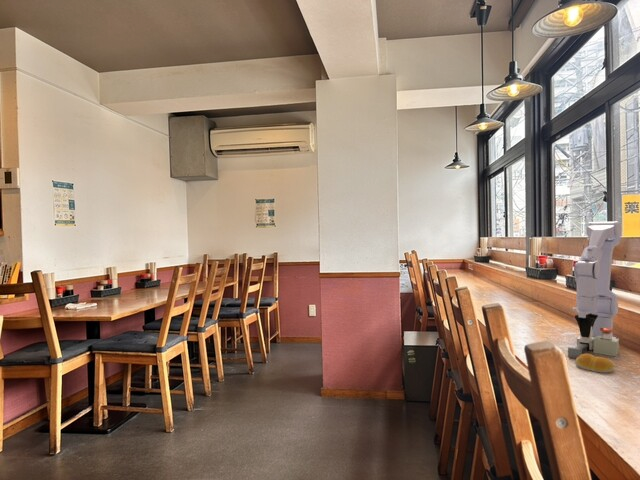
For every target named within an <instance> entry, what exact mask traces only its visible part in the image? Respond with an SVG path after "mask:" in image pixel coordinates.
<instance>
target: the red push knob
mask: <svg viewBox="0 0 640 480" xmlns="http://www.w3.org/2000/svg"><path fill="white" fill-rule="evenodd" d="M600 331H602V339H604V340H611V332H614V330H613V329H610V328H600Z"/></svg>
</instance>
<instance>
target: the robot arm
mask: <svg viewBox="0 0 640 480" xmlns="http://www.w3.org/2000/svg"><path fill="white" fill-rule="evenodd" d="M621 234H622V226H621V223H620V222H619V221H618V220H616V221H589V222H588V223H587V225H586V235H587V238H588V240H589V242H588V246H586V247H585V248H583V251H582V253H581V256H580V258H579V260H578V261H577V262H575V263H574V266H573V274H574V281H575V283H576V307H572V311H576V313H578V314H575V315H574V318H575V321H576V323H577V324H578V328H579V334H580V333H581V337H587V338H589V335H590V330H591V326H592V336H595V337H596V336H602V331H600V328H610V329H613V328H614V327H613V323H614V322H613V317H615V316H617V315H618V313H619V297H618V296H617V294H616V293H614V292H613V291H612V290H610V287H611V286H610V285H611V277H612V276H611V275H612V274H611V273H612V262H613V253H614V249H615V247H618V246H619V245H620V242H621V237H622V236H621ZM613 332H614V331H613ZM613 332H611V338H616V339H617V337H615V336H613Z"/></svg>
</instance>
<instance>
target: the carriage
mask: <svg viewBox="0 0 640 480" xmlns="http://www.w3.org/2000/svg"><path fill="white" fill-rule="evenodd" d="M581 342H583V343H589V349H588V351H592V350H593V351H594V337H592V326H591V330H590V335H589V338H587V337H581V333H580V332H579V336H578V337H577V338H576V347H577V346H578V345H579V344H580V343H581Z"/></svg>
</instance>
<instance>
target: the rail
mask: <svg viewBox="0 0 640 480" xmlns="http://www.w3.org/2000/svg"><path fill="white" fill-rule="evenodd" d="M592 337H594V338H595V336H592ZM587 351H589V343H583V342H581V343H580V344H579V345H578V346H577V345H576V347H570V346H568V348H567V358H571V359H575V360H576V359H577V358H578V357H579V356H580V355H582V354H586V352H587Z"/></svg>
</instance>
